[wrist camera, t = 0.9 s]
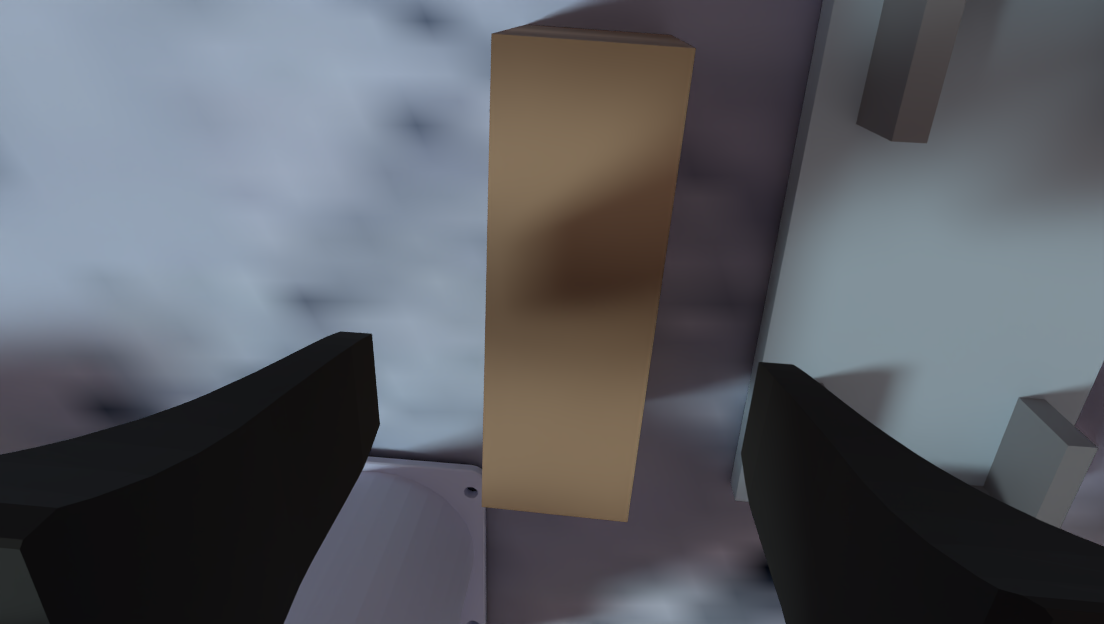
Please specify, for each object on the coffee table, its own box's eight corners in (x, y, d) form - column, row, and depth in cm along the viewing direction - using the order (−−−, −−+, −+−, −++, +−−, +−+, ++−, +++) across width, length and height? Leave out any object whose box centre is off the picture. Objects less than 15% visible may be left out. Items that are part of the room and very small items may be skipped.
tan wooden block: (623, 401, 23) (627, 521, 18) (511, 391, 24) (481, 507, 18) (670, 34, 18) (695, 48, 13) (526, 24, 18) (491, 33, 13)
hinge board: (1013, 505, 24) (1075, 583, 20) (730, 482, 24) (748, 554, 21) (1263, -76, 16) (1423, -96, 13) (840, -90, 17) (894, -113, 13)
